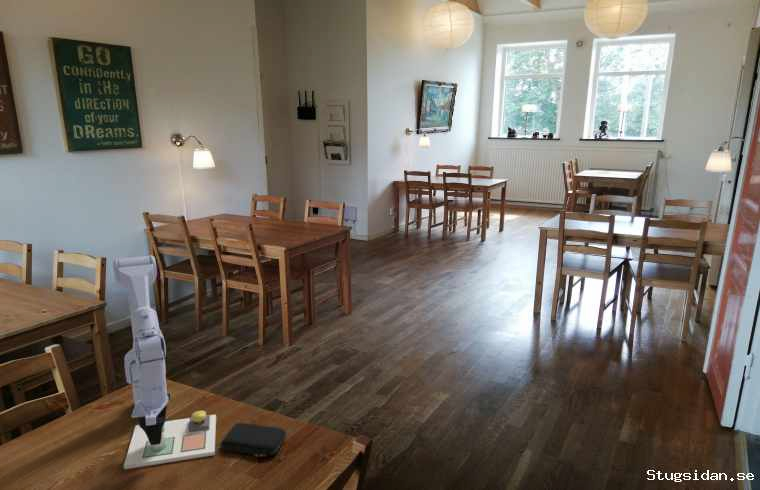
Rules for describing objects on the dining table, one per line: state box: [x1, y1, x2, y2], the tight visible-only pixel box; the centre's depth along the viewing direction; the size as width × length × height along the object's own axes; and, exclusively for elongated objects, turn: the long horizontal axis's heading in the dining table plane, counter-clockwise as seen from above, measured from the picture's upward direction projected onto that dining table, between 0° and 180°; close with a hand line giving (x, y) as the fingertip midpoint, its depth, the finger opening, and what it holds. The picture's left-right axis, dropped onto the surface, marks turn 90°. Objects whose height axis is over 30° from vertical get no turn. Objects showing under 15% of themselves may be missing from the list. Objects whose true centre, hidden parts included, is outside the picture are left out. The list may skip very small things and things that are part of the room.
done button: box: [191, 410, 207, 423], centre depth 130 cm, size 4×4×2 cm
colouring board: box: [123, 414, 217, 470], centre depth 125 cm, size 16×20×2 cm
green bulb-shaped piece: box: [151, 425, 166, 451], centre depth 120 cm, size 4×4×6 cm
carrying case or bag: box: [220, 422, 287, 458], centre depth 124 cm, size 11×3×15 cm
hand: (157, 433), depth 120 cm, fingers open, 7 cm apart
